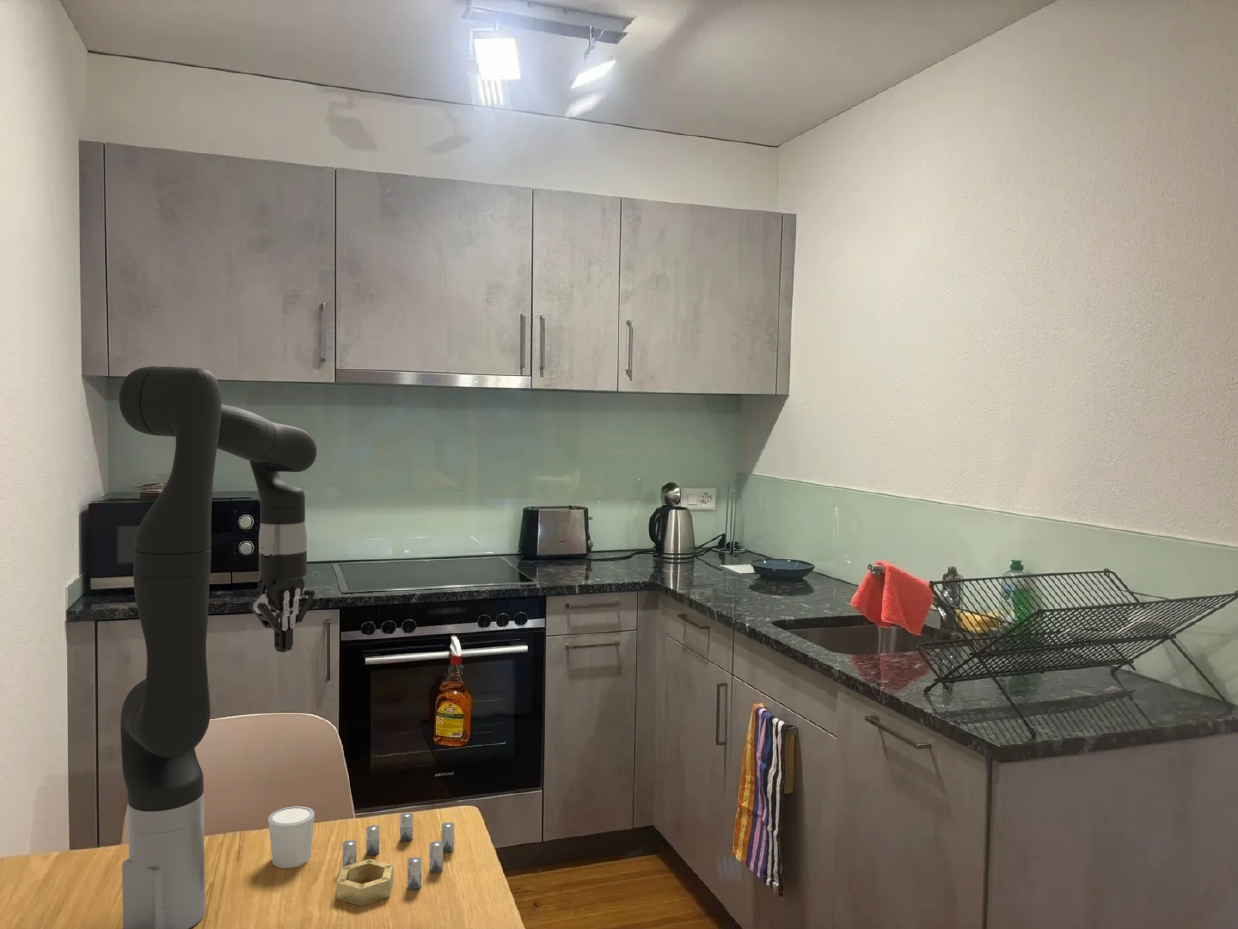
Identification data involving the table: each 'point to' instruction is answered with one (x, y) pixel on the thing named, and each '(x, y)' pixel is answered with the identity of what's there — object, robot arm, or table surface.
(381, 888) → the tan hexagonal ring
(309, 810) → the white cup
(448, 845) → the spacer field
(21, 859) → the table surface
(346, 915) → the table surface
